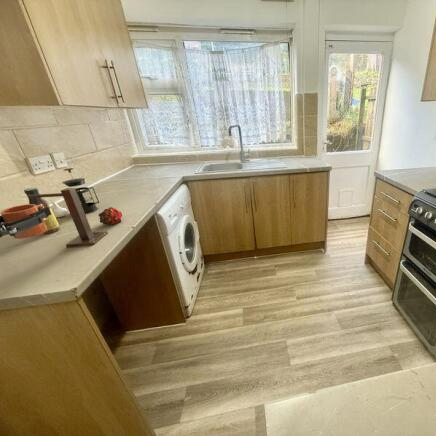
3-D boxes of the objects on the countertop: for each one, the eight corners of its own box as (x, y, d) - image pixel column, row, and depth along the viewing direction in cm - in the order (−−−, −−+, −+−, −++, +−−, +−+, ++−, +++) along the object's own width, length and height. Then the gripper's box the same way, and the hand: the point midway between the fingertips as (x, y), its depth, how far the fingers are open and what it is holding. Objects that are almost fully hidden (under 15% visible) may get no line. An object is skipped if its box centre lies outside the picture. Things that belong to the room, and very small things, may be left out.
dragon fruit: (109, 232, 110) (117, 225, 121) (123, 219, 111) (129, 213, 121) (90, 220, 106) (100, 214, 117) (105, 206, 107) (113, 201, 118)
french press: (75, 216, 124) (55, 172, 115) (73, 212, 130) (53, 169, 121) (102, 209, 132) (85, 167, 122) (99, 205, 138) (83, 165, 128)
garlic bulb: (68, 216, 125) (61, 201, 121) (52, 219, 122) (44, 204, 118) (69, 212, 129) (63, 198, 126) (54, 215, 126) (47, 201, 123)
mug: (34, 237, 80) (21, 212, 76) (6, 239, 79) (-8, 214, 75) (62, 222, 91) (52, 199, 87) (38, 223, 90) (27, 200, 86)
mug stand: (41, 249, 94) (13, 195, 85) (60, 237, 103) (37, 187, 94) (94, 245, 96) (72, 192, 87) (108, 234, 105) (90, 184, 96)
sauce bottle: (41, 231, 109) (19, 189, 101) (60, 226, 113) (39, 185, 105) (43, 235, 105) (19, 192, 97) (61, 230, 109) (40, 188, 101)
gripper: (-74, 259, 65) (6, 223, 85) (14, 252, 67) (71, 219, 87) (-93, 234, 62) (-5, 203, 82) (0, 228, 64) (63, 199, 84)
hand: (34, 211), depth 85 cm, fingers closed on mug, 8 cm apart
